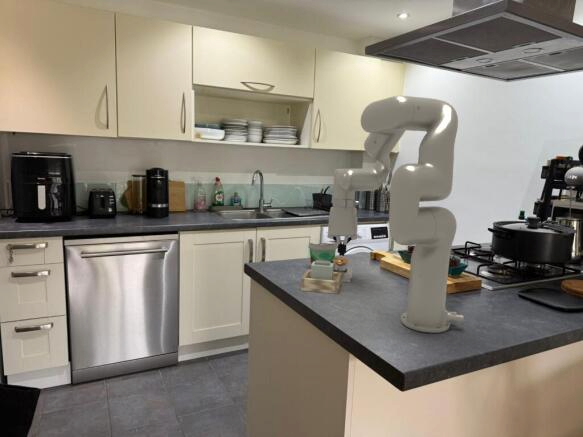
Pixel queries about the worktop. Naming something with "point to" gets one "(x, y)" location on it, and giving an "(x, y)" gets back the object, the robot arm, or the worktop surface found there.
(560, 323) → the worktop surface
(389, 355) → the worktop surface
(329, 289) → the bay
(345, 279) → the plunger base
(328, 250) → the food container
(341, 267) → the plunger
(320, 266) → the pale green box
